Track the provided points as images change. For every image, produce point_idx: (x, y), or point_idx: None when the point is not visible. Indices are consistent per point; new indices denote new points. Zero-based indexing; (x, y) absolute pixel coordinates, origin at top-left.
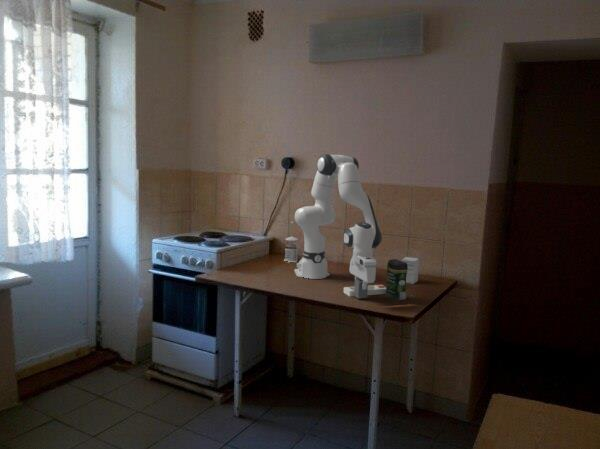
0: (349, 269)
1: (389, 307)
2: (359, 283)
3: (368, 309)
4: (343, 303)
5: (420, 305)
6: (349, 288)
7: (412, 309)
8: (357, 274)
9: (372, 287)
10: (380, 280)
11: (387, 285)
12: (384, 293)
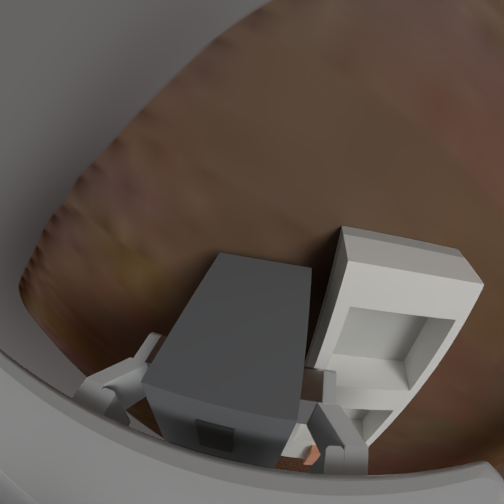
0: (501, 492)
1: (105, 326)
2: (154, 367)
3: (74, 211)
4: (223, 92)
5: (135, 411)
6: (428, 312)
7: (91, 368)
8: (205, 499)
9: (366, 432)
10: (450, 458)
11: None
12: None
